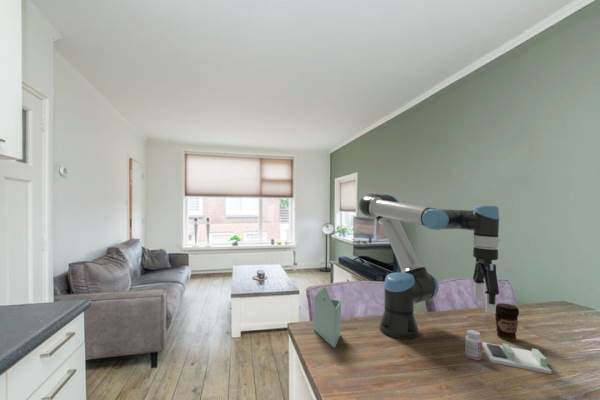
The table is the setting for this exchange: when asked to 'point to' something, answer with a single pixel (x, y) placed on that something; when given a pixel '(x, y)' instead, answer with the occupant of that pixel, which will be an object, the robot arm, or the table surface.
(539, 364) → the dock
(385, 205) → the robot arm
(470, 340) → the pill bottle
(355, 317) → the table surface
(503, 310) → the coffee cup
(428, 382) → the table surface
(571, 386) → the table surface
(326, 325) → the green magazine holder
